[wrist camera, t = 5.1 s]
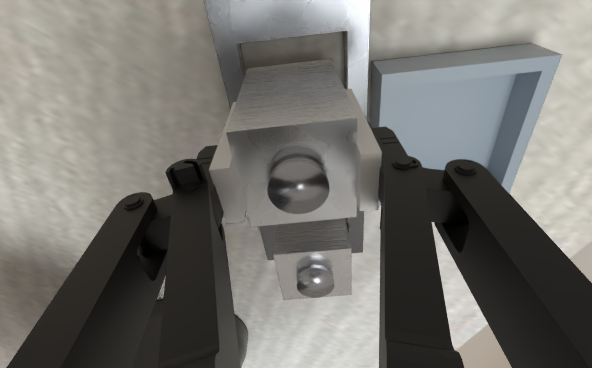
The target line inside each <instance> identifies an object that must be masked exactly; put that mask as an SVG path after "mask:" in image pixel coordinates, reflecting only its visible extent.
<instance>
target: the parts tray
mask: <svg viewBox="0 0 592 368" xmlns="http://www.w3.org/2000/svg"><path fill="white" fill-rule="evenodd" d="M561 57H562V54H559V53H556V52H554V51H551V50H549V49H546V48H543V47H541V46H538V45H536V44H533V43H530V44H522V45H513V46H504V47H495V48H486V49H478V50H469V51H460V52H451V53H443V54H434V55H425V56H416V57H407V58H399V59H390V60H381V61H372V82H371V109H370V128H375V127H385V126H386V127H387V128H389V129H391V130H392V131H394V133H395V135H396V136H397V138H398V140H399V141H400V143H401V145H402V146H403V148H404V150H405V151H406V153H407V155H408V156H411V157H414V158H416V159H417V160H419V161H420V163H421V164H422V167H424V168H429V169H438V170H445V166H446V164H447V163H448V162H450V161H452V160H456V159H468V160H472V161H475V162H477V163H480V164H481V165H483V166H484V167H485V168H486V169H487V170H488V171H489V172H490V173H491V174H492V176H493V177H494V178H495V179H496V180H497V181H498V182H499V183H500V184H501V185H502V186H503V187H504V189H505V190H506V191H507V192H508V193H510V190H511V187H512V185H513V182H514V179H515V177H516V174H517V172H518V169H519V166H520V164H521V161H522V159H523V156H524V153H525V151H526V148H527V145H528V143H529V140H530V138H531V135H532V132H533V130H534V127H535V125H536V122H537V119H538V117H539V114H540V112H541V109H542V106H543V104H544V101H545V98H546V96H547V93H548V91H549V88H550V85H551V83H552V80H553V78H554V75H555V72H556V70H557V67H558V64H559V62H560V59H561ZM379 205H381V203H380V201H379Z"/></svg>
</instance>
